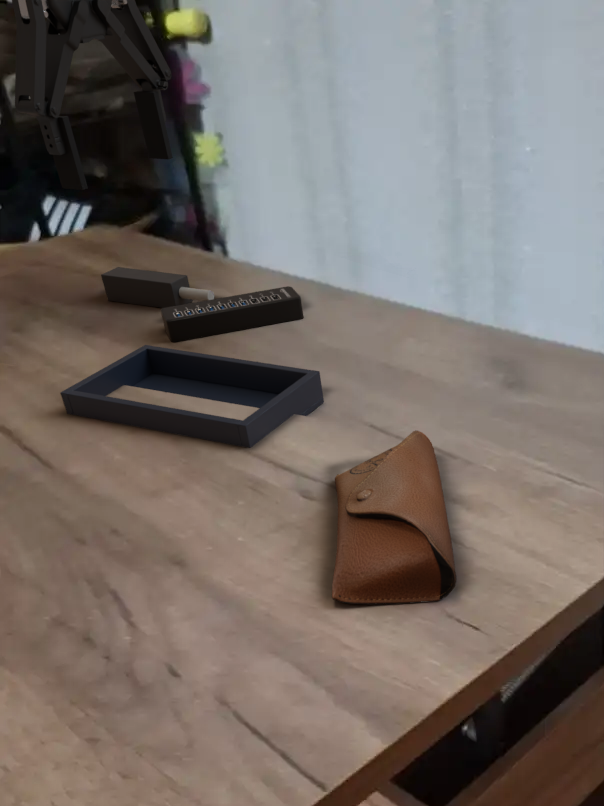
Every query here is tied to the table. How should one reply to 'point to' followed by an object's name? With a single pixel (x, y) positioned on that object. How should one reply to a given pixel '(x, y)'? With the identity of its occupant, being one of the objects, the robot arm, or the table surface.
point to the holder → (197, 394)
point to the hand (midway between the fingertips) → (120, 173)
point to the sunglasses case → (393, 529)
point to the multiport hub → (231, 313)
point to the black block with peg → (151, 288)
